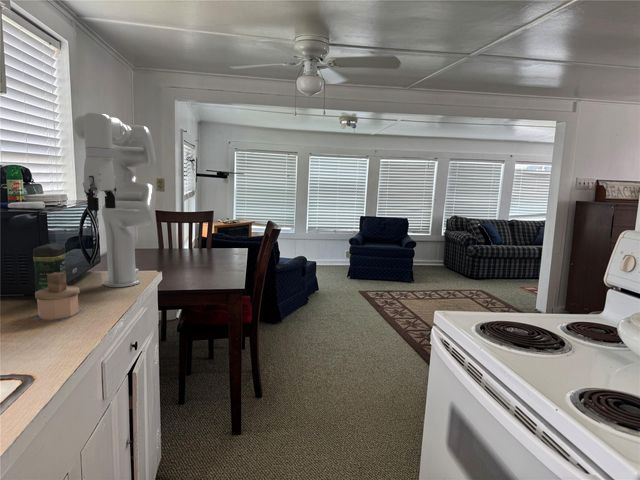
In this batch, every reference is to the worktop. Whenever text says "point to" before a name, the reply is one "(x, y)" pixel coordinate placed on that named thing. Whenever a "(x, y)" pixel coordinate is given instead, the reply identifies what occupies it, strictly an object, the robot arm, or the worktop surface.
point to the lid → (57, 288)
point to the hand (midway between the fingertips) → (102, 209)
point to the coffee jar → (48, 263)
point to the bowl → (58, 308)
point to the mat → (59, 319)
